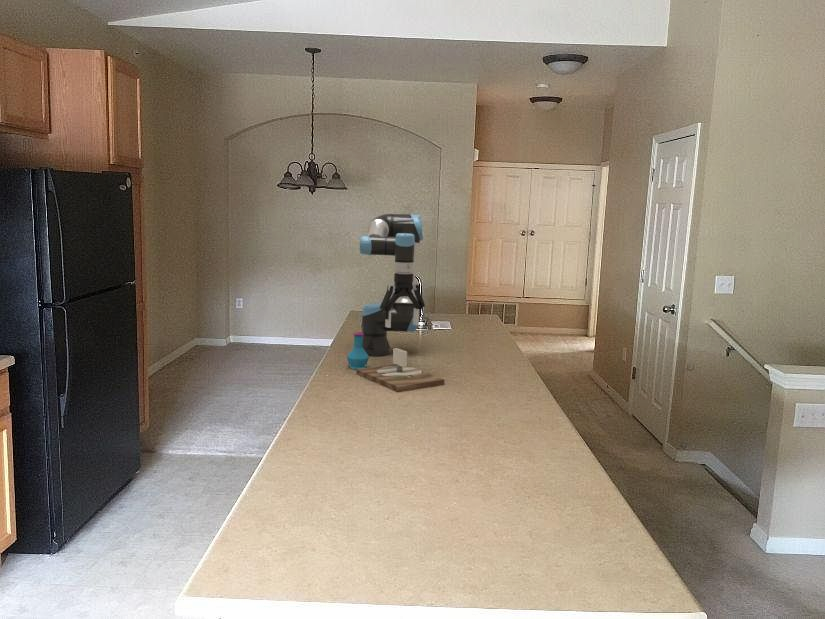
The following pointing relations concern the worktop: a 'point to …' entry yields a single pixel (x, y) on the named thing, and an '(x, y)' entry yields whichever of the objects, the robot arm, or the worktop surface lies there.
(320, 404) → the worktop surface
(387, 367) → the tuner board
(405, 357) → the beige block with bar
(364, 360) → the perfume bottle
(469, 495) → the worktop surface
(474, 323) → the worktop surface
